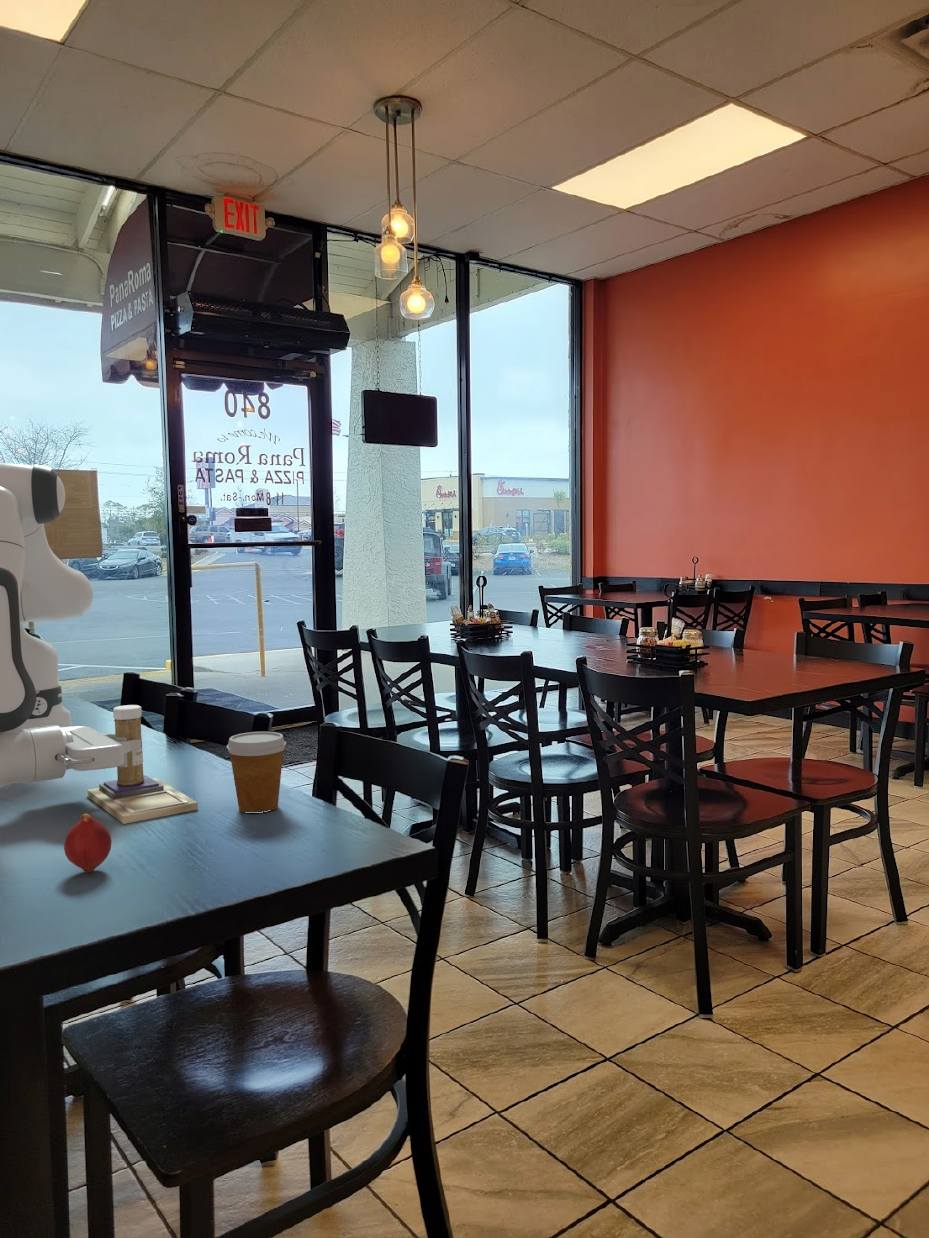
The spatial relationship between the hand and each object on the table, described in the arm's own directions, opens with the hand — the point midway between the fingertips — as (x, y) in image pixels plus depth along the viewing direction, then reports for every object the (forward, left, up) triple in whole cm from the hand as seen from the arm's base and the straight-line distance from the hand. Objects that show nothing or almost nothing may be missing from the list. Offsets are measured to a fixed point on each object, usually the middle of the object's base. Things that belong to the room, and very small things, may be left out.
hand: (134, 741), depth 155 cm
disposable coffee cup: (+21, +13, -10) cm, 27 cm away
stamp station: (+5, -1, -10) cm, 11 cm away
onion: (+33, -17, -10) cm, 38 cm away
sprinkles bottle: (0, -1, -7) cm, 8 cm away
